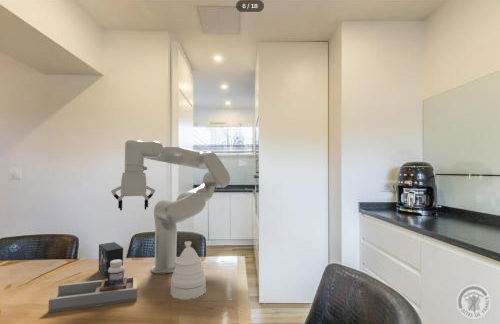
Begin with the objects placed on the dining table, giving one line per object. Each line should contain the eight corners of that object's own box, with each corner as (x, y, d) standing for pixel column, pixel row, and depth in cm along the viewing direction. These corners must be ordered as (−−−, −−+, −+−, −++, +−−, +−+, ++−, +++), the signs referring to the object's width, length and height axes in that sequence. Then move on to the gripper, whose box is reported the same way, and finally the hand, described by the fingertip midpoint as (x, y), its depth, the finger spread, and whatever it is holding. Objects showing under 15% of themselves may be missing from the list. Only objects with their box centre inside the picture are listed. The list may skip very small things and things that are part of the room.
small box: (97, 271, 131) (98, 244, 132) (114, 267, 136) (114, 241, 136) (106, 279, 121) (106, 250, 122) (123, 275, 126) (124, 247, 126)
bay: (136, 286, 114) (137, 276, 114) (136, 300, 102) (136, 288, 102) (59, 296, 105) (59, 284, 105) (48, 312, 93) (48, 299, 93)
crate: (132, 285, 112) (132, 276, 112) (131, 295, 103) (131, 285, 103) (96, 290, 108) (97, 280, 108) (93, 301, 99) (93, 289, 99)
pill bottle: (110, 285, 108) (111, 258, 109) (126, 285, 109) (126, 258, 109) (105, 291, 103) (105, 263, 103) (120, 291, 103) (121, 263, 104)
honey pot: (168, 288, 113) (169, 240, 114) (201, 283, 118) (201, 238, 119) (173, 301, 101) (174, 249, 102) (209, 295, 106) (210, 245, 107)
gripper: (155, 169, 132) (154, 207, 132) (112, 169, 126) (111, 209, 125) (155, 169, 125) (155, 210, 125) (111, 169, 119) (110, 211, 118)
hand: (133, 209), depth 125 cm, fingers open, 9 cm apart
